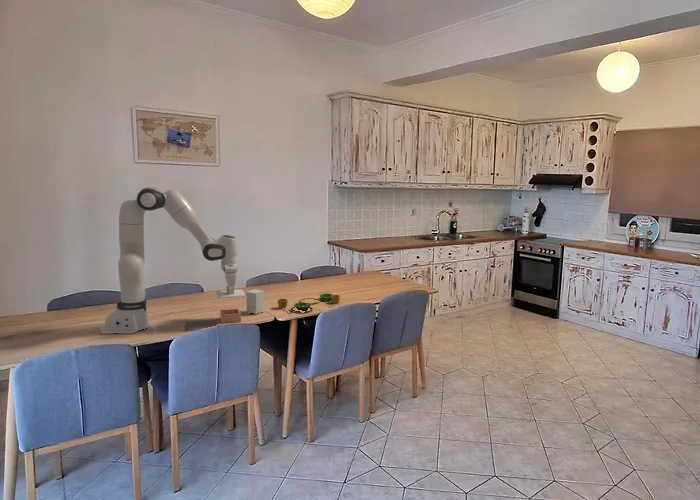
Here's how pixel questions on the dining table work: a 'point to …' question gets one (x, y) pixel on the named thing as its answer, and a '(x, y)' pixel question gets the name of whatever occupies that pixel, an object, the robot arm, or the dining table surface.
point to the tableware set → (304, 306)
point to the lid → (230, 295)
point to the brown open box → (230, 315)
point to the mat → (199, 325)
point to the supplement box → (255, 301)
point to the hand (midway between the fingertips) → (230, 291)
